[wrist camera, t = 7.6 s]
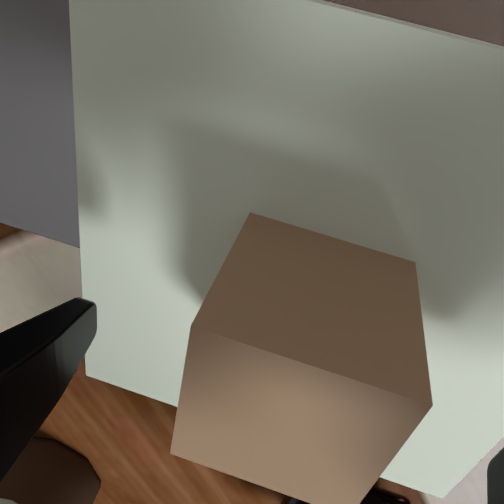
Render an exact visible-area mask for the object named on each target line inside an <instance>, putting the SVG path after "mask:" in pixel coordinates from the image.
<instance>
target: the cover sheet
mask: <svg viewBox="0 0 504 504" xmlns="http://www.w3.org/2000/svg"><path fill="white" fill-rule="evenodd" d="M69 16H70V38H71V60H72V82H73V104H74V125H75V147H76V169H77V191H78V213H79V235H80V257H81V279H82V298H84V299H87V300H90V301H93V302H95V304H96V306H97V332H96V335H95V337H94V339H93V341H92V343H91V345H90V347H89V348H88V350H87V352H86V354H85V366H86V375H87V376H89V377H92V378H95V379H98V380H101V381H104V382H107V383H110V384H113V385H115V386H118V387H121V388H124V389H127V390H130V391H133V392H136V393H139V394H141V395H144V396H147V397H150V398H153V399H156V400H159V401H162V402H164V403H167V404H170V405H173V406H176V407H177V413H176V420H175V426H174V432H173V438H172V444H171V450H170V454H173V455H176V456H178V457H181V458H184V459H187V460H190V461H192V462H195V463H198V464H201V465H204V466H207V467H209V468H212V469H215V470H218V471H221V472H223V473H226V474H229V475H232V476H235V477H237V478H240V479H243V480H246V481H249V482H251V483H254V484H257V485H260V486H263V487H265V488H268V489H271V490H274V491H277V492H279V493H282V494H285V495H288V496H291V497H293V498H296V499H299V500H302V501H305V502H307V503H310V504H360V502H361V501H362V500H363V498H364V497H365V496H366V494H367V493H368V492H369V490H370V489H371V488H372V486H373V485H374V484H375V482H376V481H377V480H378V478H379V477H381V478H384V479H387V480H390V481H392V482H395V483H398V484H401V485H404V486H407V487H410V488H413V489H416V490H418V491H421V492H424V493H427V494H430V495H433V496H436V497H439V498H441V499H443V498H444V497H445V496H446V495H447V494H448V493H449V492H450V491H451V490H452V489H453V488H454V487H455V486H456V485H457V484H458V482H459V481H460V480H461V479H462V478H463V477H464V476H465V475H466V474H467V473H468V472H469V471H470V470H471V469H472V468H473V467H474V466H475V465H476V464H477V463H478V462H479V461H480V460H481V459H482V458H483V457H484V456H485V455H486V454H487V453H488V452H489V451H490V450H491V449H492V448H493V447H494V446H495V445H496V444H497V443H498V442H499V441H500V440H501V439H502V438H503V437H504V46H500V45H496V44H492V43H488V42H485V41H481V40H477V39H473V38H469V37H465V36H461V35H457V34H453V33H449V32H445V31H442V30H438V29H434V28H430V27H426V26H422V25H418V24H414V23H410V22H406V21H402V20H399V19H395V18H391V17H387V16H383V15H379V14H375V13H371V12H367V11H363V10H359V9H356V8H352V7H348V6H344V5H340V4H336V3H332V2H328V1H324V0H69Z"/></svg>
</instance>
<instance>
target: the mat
mask: <svg viewBox="0 0 504 504" xmlns="http://www.w3.org/2000/svg"><path fill="white" fill-rule="evenodd" d="M0 223H3V224H6V225H9V226H12V227H16V228H19V229H22V230H25V231H28V232H31V233H34V234H37V235H41V236H44V237H47V238H50V239H53V240H56V241H59V242H62V243H66V244H69V245H72V246H75V247H78V248H80V235H79V213H78V191H77V169H76V147H75V125H74V104H73V82H72V60H71V38H70V16H69V0H0Z"/></svg>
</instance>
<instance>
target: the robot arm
mask: <svg viewBox="0 0 504 504" xmlns="http://www.w3.org/2000/svg"><path fill="white" fill-rule="evenodd" d="M96 332H97V306H96V304H95V302H93V301H90V300H87V299H84V298H80V297H78V298H74V299H72V300H70V301H68V302H65V303H63V304H61V305H59V306H57V307H55V308H53V309H50V310H48V311H46V312H44V313H42V314H40V315H38V316H35V317H33V318H31V319H29V320H27V321H25V322H23V323H21V324H18V325H16V326H14V327H12V328H10V329H8V330H6V331H3V332H1V333H0V483H1V481H2V480H3V479H4V477H5V476H6V474H7V473H8V472H9V470H10V469H11V467H12V466H13V465H14V463H15V462H16V460H17V459H18V457H19V456H20V455H21V453H22V452H23V450H24V449H25V448H26V446H27V445H28V443H29V442H30V441H31V439H32V438H33V436H34V435H35V434H36V432H37V431H38V429H39V428H40V427H41V425H42V424H43V422H44V421H45V420H46V418H47V417H48V415H49V414H50V413H51V411H52V410H53V408H54V407H55V405H56V404H57V402H58V401H59V399H60V398H61V396H62V395H63V393H64V391H65V389H66V388H67V386H68V384H69V382H70V381H71V379H72V377H73V375H74V373H75V372H76V370H77V368H78V366H79V364H80V363H81V361H82V359H83V357H84V356H85V354H86V352H87V350H88V348H89V347H90V345H91V343H92V341H93V339H94V337H95V335H96ZM487 496H488V504H504V448H503V449H502V450H501V451H500V452H499V453H498V454H497V455H496V456H495V457H494V458H493V459H492V460H491V461H490V463H489V465H488V469H487ZM286 504H310V503H307V502H305V501H302V500H299V499H296V498H293V497H291V496H290V497H289V499H288V501H287V503H286ZM360 504H407V503H405V502H402V501H399V500H396V499H393V498H391V497H388V496H385V495H382V494H379V493H376V492H373V491H371V490H369V492H368V493H367V494H366V496H365V497H364V498H363V500H362V501H361V502H360Z"/></svg>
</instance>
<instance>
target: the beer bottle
mask: <svg viewBox="0 0 504 504" xmlns="http://www.w3.org/2000/svg"><path fill="white" fill-rule="evenodd" d="M100 485H101V480H100V479H99V477H98V476H97V474H96V472H95V471H94V469H93V468H92V466H91V464H90V463H89V461H88V460H87V459H86V458H84V457H83V456H81V455H79V454H78V453H76V452H74V451H72V450H71V449H69V448H67V447H66V446H64V445H62V444H61V443H59V442H57V441H55V440H51V439H43V438H35V437H33V438H32V439H31V441H30V442H29V443H28V445H27V446H26V448H25V449H24V450H23V452H22V453H21V455H20V456H19V457H18V459H17V460H16V462H15V463H14V465H13V466H12V467H11V469H10V470H9V472H8V473H7V474H6V476H5V477H4V479H3V480H2V481H1V483H0V504H93V502H94V500H95V497H96V495H97V493H98V491H99V489H100Z"/></svg>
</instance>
